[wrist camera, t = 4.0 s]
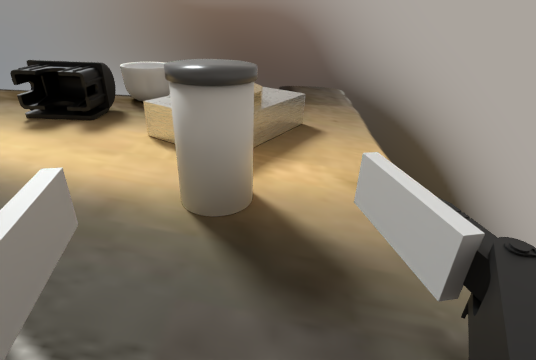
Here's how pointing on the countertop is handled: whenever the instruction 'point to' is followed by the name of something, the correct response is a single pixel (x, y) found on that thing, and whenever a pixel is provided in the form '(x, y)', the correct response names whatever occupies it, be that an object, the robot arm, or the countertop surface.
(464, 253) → the robot arm
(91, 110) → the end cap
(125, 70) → the teacup
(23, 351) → the countertop surface
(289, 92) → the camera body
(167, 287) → the countertop surface
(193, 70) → the telephoto lens
